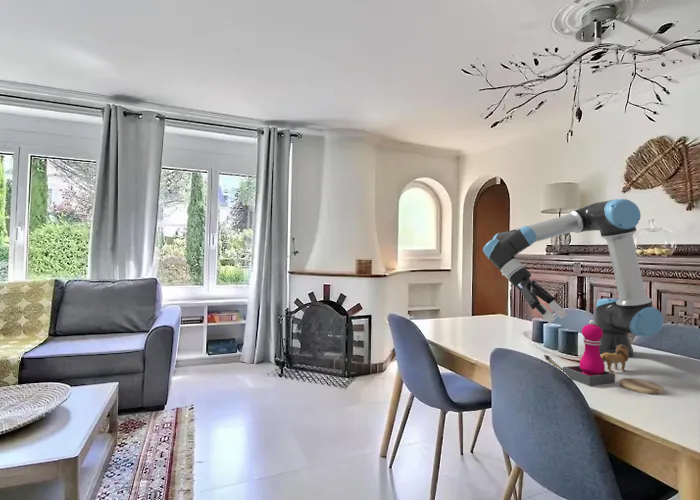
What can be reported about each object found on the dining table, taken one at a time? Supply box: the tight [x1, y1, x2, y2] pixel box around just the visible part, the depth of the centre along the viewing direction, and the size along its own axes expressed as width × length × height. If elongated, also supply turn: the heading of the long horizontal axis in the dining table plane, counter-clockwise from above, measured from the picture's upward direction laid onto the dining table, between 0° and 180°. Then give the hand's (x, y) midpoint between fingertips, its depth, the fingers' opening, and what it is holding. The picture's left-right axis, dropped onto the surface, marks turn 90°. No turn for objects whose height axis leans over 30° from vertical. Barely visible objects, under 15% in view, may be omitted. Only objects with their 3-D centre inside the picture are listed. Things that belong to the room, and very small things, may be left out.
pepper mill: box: [578, 319, 606, 376], centre depth 130 cm, size 7×7×20 cm
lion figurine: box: [600, 345, 630, 374], centre depth 141 cm, size 15×5×9 cm, turn 116°
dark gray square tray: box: [562, 365, 616, 387], centre depth 131 cm, size 11×11×3 cm
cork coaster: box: [618, 377, 664, 395], centre depth 124 cm, size 11×11×1 cm
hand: (558, 318), depth 137 cm, fingers open, 13 cm apart
